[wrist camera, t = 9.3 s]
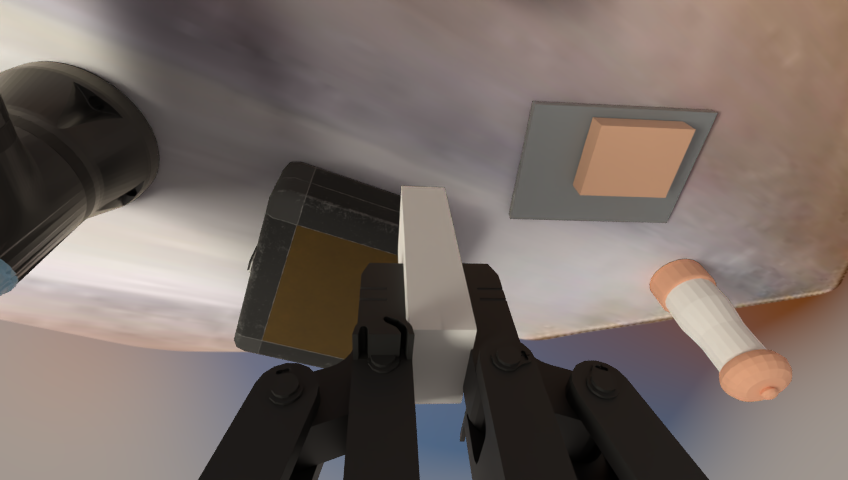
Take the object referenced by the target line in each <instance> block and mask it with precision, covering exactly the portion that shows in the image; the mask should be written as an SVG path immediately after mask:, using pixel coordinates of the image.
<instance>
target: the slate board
mask: <svg viewBox="0 0 848 480" xmlns="http://www.w3.org/2000/svg"><path fill="white" fill-rule="evenodd" d="M717 114H718V113H717V112H715V111H713V110H704V109H683V108H663V107H642V106H622V105H601V104H580V103H560V102H539V101H532V106H531V111H530V116H529V121H528V125H527V130H526V135H525V140H524V145H523V149H522V154H521V159H520V164H519V168H518V173H517V178H516V183H515V188H514V192H513V197H512V202H511V207H510V211H509V216H510V219H536V220H574V221H612V222H650V223H667V221H668V219H669V217H670V214H671V212H672V210H673V208H674V206H675V204H676V202H677V199H678V197H679V195H680V193H681V191H682V189H683V187H684V184H685V182H686V180H687V178H688V176H689V174H690V172H691V169H692V167H693V165H694V163H695V161H696V159H697V157H698V154H699V152H700V150H701V148H702V146H703V144H704V141H705V139H706V137H707V135H708V133H709V131H710V129H711V126H712V124H713V122H714V120H715V118H716V116H717ZM593 117H597V118H619V119H641V120H663V121H683V122H685V123H686V124H688V125H689V126H691V127H692V128H694V129H696V130H695V133H694V135H693V137H692V139H691V142H690V144H689V146H688V148H687V150H686V153H685V155H684V157H683V159H682V162H681V164H680V166H679V168H678V171H677V173H676V175H675V177H674V180H673V182H672V184H671V186H670V189H669V191H668V193H667V195H666V198H655V197H623V196H591V195H579V193H578V192H577V190H576V189H575V188H574V186H573V182H574V179H575V176H576V172H577V169H578V165H579V162H580V159H581V155H582V152H583V149H584V145H585V142H586V138H587V135H588V132H589V128H590V125H591V122H592V118H593Z"/></svg>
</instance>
